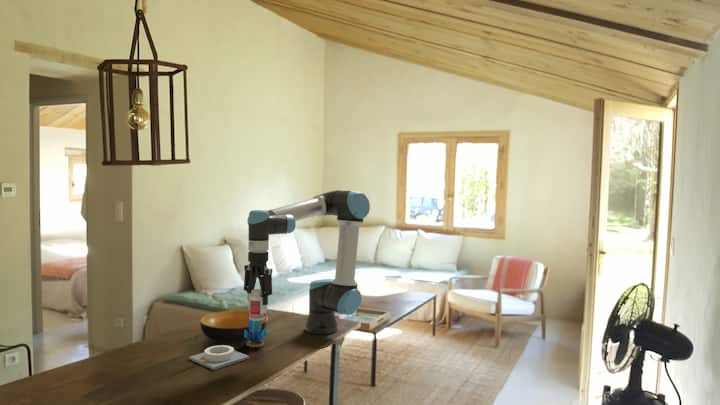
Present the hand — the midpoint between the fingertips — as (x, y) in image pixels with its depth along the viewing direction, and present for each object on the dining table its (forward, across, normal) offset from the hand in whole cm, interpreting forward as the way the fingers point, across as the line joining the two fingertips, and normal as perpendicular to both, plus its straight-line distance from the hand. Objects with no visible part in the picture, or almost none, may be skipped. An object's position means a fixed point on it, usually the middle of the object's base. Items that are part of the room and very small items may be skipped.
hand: (257, 311), depth 195 cm
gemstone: (+19, -15, +12) cm, 27 cm away
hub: (+19, -12, -8) cm, 24 cm away
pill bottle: (+3, 0, 0) cm, 3 cm away
